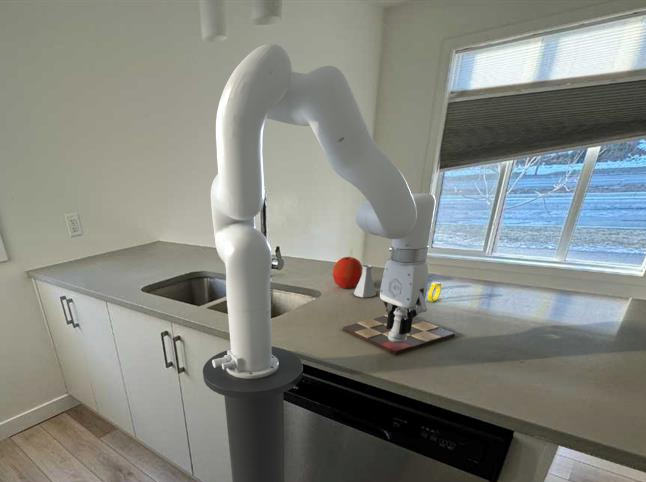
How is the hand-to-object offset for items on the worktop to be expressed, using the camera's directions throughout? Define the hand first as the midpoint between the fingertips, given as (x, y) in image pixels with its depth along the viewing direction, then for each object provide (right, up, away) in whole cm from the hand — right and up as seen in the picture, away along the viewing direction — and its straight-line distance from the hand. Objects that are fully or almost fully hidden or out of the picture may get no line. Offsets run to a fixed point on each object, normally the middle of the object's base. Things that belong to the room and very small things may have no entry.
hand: (398, 329), depth 99 cm
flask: (+6, +18, +41) cm, 45 cm away
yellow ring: (+24, +13, +31) cm, 41 cm away
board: (+4, +1, +11) cm, 12 cm away
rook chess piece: (0, -2, +1) cm, 3 cm away
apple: (+3, +23, +51) cm, 56 cm away
